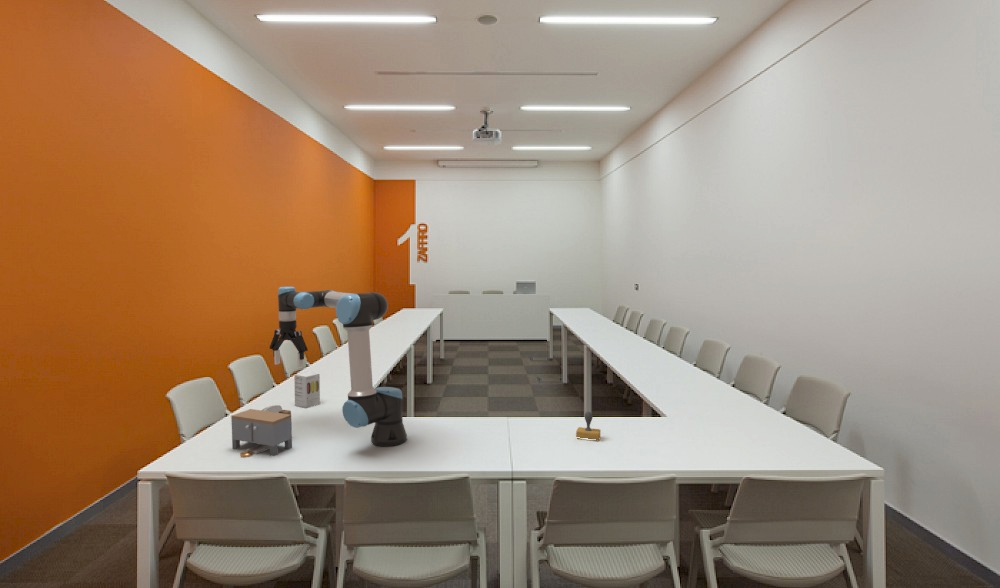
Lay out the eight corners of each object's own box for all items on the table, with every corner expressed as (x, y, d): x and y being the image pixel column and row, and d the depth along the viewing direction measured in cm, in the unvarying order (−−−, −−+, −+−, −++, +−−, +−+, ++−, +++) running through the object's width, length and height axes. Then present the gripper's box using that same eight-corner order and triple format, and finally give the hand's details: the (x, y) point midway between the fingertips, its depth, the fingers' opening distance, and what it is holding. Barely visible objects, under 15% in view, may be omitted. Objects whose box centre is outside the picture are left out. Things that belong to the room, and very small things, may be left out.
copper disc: (255, 454, 212) (255, 452, 212) (246, 458, 208) (245, 455, 208) (247, 453, 214) (247, 450, 214) (237, 457, 210) (237, 454, 210)
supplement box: (306, 408, 275) (305, 376, 274) (294, 405, 279) (293, 374, 278) (320, 404, 283) (320, 373, 282) (308, 401, 288) (308, 371, 286)
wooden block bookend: (293, 437, 231) (292, 411, 231) (256, 454, 212) (255, 425, 211) (282, 435, 234) (281, 409, 233) (245, 452, 214) (244, 423, 214)
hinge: (267, 431, 239) (260, 410, 239) (259, 434, 240) (251, 413, 240) (289, 420, 255) (282, 400, 255) (281, 422, 256) (274, 403, 256)
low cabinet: (292, 447, 220) (291, 414, 219) (272, 456, 210) (271, 422, 209) (251, 440, 227) (250, 408, 226) (230, 449, 217) (229, 416, 216)
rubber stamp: (575, 439, 231) (576, 412, 231) (578, 434, 237) (578, 408, 236) (598, 441, 228) (599, 414, 228) (600, 437, 234) (600, 410, 233)
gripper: (315, 320, 243) (316, 365, 244) (272, 317, 252) (274, 361, 253) (303, 322, 236) (304, 369, 237) (260, 319, 245) (261, 364, 246)
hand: (288, 365), depth 245 cm, fingers open, 13 cm apart
